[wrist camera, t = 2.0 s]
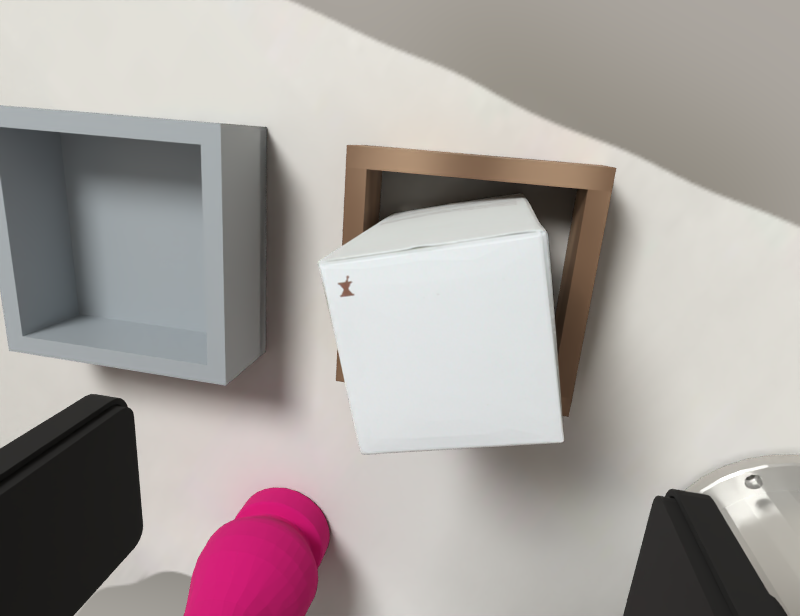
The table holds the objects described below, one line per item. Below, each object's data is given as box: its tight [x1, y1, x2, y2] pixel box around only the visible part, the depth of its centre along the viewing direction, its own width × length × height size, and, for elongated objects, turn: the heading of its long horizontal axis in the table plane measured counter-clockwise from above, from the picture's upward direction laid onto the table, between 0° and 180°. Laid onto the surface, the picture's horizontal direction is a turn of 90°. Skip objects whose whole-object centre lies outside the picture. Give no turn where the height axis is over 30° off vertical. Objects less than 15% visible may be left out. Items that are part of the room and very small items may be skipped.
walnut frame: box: [336, 145, 616, 417], centre depth 28 cm, size 12×12×4 cm
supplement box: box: [318, 194, 564, 455], centre depth 23 cm, size 7×7×13 cm
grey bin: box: [0, 105, 267, 386], centre depth 30 cm, size 13×13×5 cm
